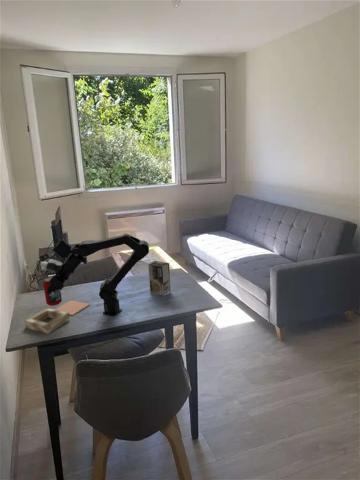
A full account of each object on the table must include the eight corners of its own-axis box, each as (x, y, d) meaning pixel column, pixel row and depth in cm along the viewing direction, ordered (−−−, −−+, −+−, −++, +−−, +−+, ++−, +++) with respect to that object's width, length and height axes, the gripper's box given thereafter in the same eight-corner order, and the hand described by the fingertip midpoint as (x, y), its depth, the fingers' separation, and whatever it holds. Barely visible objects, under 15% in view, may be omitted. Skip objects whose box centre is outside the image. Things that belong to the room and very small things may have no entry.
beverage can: (54, 307, 158) (51, 282, 155) (43, 305, 161) (39, 280, 157) (65, 301, 164) (61, 276, 161) (54, 299, 167) (50, 275, 163)
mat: (89, 305, 175) (89, 304, 175) (72, 315, 164) (72, 314, 164) (71, 301, 180) (70, 300, 180) (53, 311, 170) (53, 310, 169)
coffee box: (171, 292, 187) (169, 262, 182) (164, 296, 181) (162, 266, 177) (157, 289, 191) (155, 260, 187) (149, 293, 186) (147, 263, 182)
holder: (69, 319, 161) (68, 312, 160) (47, 333, 150) (46, 326, 149) (48, 314, 166) (47, 307, 165) (25, 327, 155) (24, 320, 154)
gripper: (60, 247, 165) (39, 272, 167) (51, 260, 148) (27, 287, 149) (80, 262, 168) (59, 286, 170) (73, 276, 150) (50, 302, 152)
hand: (49, 290), depth 160 cm, fingers closed on beverage can, 7 cm apart
